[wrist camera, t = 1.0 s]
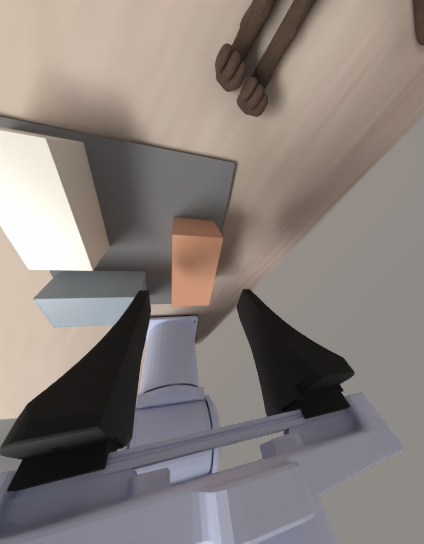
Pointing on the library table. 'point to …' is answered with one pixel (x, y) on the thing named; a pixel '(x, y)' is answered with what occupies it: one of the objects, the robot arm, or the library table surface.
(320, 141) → the library table surface
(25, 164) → the cream brick
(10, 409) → the library table surface
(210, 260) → the terracotta brick
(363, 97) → the library table surface
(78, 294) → the slate brick
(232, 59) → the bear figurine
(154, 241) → the charcoal mat
